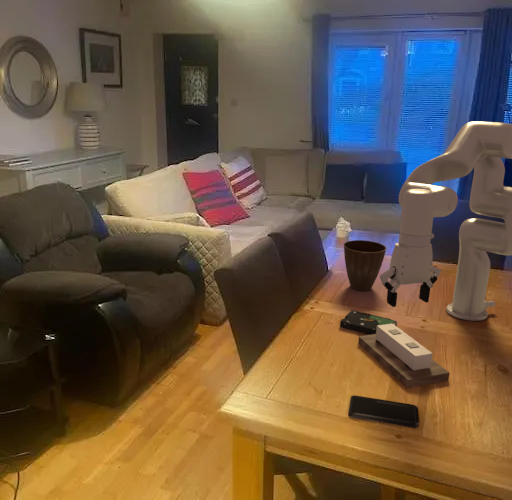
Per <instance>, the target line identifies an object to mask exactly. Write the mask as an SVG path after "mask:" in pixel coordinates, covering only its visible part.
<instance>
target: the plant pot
mask: <svg viewBox="0 0 512 500" xmlns="http://www.w3.org/2000/svg"><path fill="white" fill-rule="evenodd" d="M386 251H387V247H386V245H384V244H382V243H380V242H377V241H376V242H375V241H372V240H363V239H362V240H361V239H356V240H354V239H353V240H349V241H345V242H344V243H343V254H344V263H345V269H346V275H347V278H348V282H349V285H350V288H351V289H353V290H355V291H359V292H366V291H367V292H368V291H370V290H371V289H372V288H373V286H374V284H375V283H376V279H377V277H378V275H379V272H380V270H381V267H382V264H383V261H384V259H385V255H386Z"/></svg>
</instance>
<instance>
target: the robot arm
mask: <svg viewBox="0 0 512 500" xmlns="http://www.w3.org/2000/svg"><path fill="white" fill-rule="evenodd" d="M502 159H511V160H512V123H509V122H508V123H507V122H499V121H498V122H497V121H494V122H493V121H481V120H480V121H479V120H478V121H477V120H476V121H469V122H467V123H465V124H464V125H462V126H461V128H460V129H459V130H458V132H457V134H456V135H455V136H454V138H453V139H452V141H451V142H450V144H449V145H448V147H447V148H446V149H445V151H444V153H443V154H440V155H439V156H436V157H434V158H431V159H430V160H428V161H426V162H424V163H422V164H420V165H418V166H417V167H416V168H414V169H413V170H412V172H411V173H410V174H409V176H407V178H406V179H405V181H404V183H403V184H402V186H401V189H400V191H399V194H398V203H399V206H400V207H401V217H400V226H399V227H400V228H399V236H398V242H396V243H395V244H394V247H393V249H392V254H391V258H390V263H389V268H388V270H386V271H385V272H382V273H381V274H380V275H379V278H380V280H381V284H382V286H383V287H384V288H385V289H386V290H387V291H386V292H387V293H386V302H387V304H388V305H390V306H391V307H392V308H396V307H397V301H398V292H397V291H398V289H399V288H400V286H401V285H404V286H406V285H412V284H420V285H419V286H420V287H419V295H418V299H419V300H421V301H423V302H424V303H426V304H427V303H429V300H430V295H431V288H433V287H434V284H435V283H436V282H437V280H438V277H439V276H440V274H441V272H442V269H440V268H438V267H436V266H433V258H434V257H433V245H432V244H431V240H432V239H434V238H435V234H434V233H433V232H432V231H433V223H434V218H443V217H448V216H449V215H450V214H453V212H454V211H455V210H456V208H457V206H458V202H459V201H458V200H459V199H458V198H459V197H458V195H457V192H456V191H455V190H454V189H453V188H450V187H448V186H442V185H437V184H435V183H440V182H447V181H451V180H455V179H459V178H464V177H466V176H468V175H469V174H470V173H471V172H472V171H473V176H472V182H471V183H472V184H471V188H470V195H469V196H470V197H469V209H470V211H471V212H472V213H474V214H477V215H481V216H486V217H491V218H499V219H502V220H504V222H501V221H496V220H490V219H484V218H477V217H476V218H475V217H474V218H467V219H465V220H464V221H462V223H461V225H460V226H459V231H458V240H459V251H458V252H459V253H458V261H457V268H456V275H455V282H454V289H453V296H452V303H451V302H450V303H449V304H447V306H446V312H447V313H448V314H449V315H450V316H452V317H454V318H456V319H461V320H463V321H464V320H465V321H471V322H472V321H473V322H478V321H484V320H486V319H487V318H488V315H489V313H488V311H487V309H488V308H493V307H496V306H497V305H496V301H495V300H488V301H487V299H486V296H487V295H486V294H487V290H488V289H487V288H488V282H489V276H490V271H491V260H490V257H489V256H488V253H492V254H497V255H503V256H512V186H505V185H504V179H505V174H506V168H505V163H504V162H503V161H502ZM487 252H488V253H487Z"/></svg>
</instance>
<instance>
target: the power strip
mask: <svg viewBox="0 0 512 500" xmlns="http://www.w3.org/2000/svg"><path fill="white" fill-rule="evenodd" d="M376 339H377V340H378V341H379V344H380V345H384V346H385V347H386V348H387V349H389V350H390V351H391V352H392V353H393V354H395V355H396V356H397V357H398V358H399V359H401V360H402V361H403V362H404V363H405V364H407V365H408V366H409V368H408V369H410V370H411V371H414V370H420V369H426V368H431V362H432V360H433V355H434V354H433V352H431V351H430V350H429V349H428V348H426V346H423V345H422V344H420V342H418V341H416V340H415V339H414V338H413V337H411V335H408V333H406V332H404V331H403V330H402V329H401V328H400V327H398V326H395V325H394V324H393V323H392V324H385V325H378V326H377V330H376Z"/></svg>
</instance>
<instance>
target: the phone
mask: <svg viewBox="0 0 512 500" xmlns="http://www.w3.org/2000/svg"><path fill="white" fill-rule="evenodd" d="M419 416H420V415H419V407H418V406H417V405H416V404H411V403H405V402H398V401H393V400H392V401H391V400H385V399H381V398H373V397H368V396H361V395H351V396H350V400H349V405H348V417H350V418H354V419H361V420H367V421H370V422H371V421H372V422H378V423H383V424H390V425H395V426H400V427H406V428H412V429H417V428H418V427H419V424H420V418H419Z"/></svg>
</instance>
